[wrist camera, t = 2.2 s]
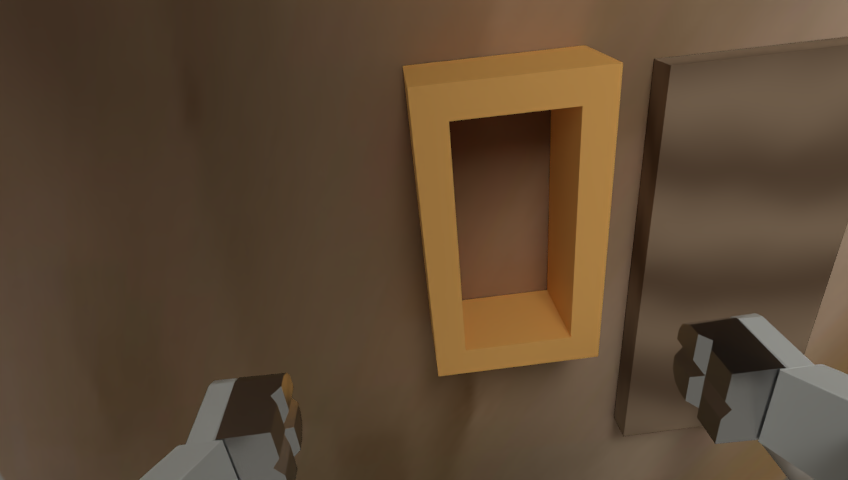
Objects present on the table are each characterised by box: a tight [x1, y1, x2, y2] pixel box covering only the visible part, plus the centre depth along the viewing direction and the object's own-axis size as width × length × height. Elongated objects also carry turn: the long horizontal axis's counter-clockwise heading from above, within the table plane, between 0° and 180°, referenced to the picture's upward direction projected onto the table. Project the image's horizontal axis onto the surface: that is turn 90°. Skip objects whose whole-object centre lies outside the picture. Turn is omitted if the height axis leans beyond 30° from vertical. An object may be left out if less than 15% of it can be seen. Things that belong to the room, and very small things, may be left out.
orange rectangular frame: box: [403, 45, 623, 376], centre depth 24 cm, size 14×8×4 cm, turn 5°
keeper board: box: [614, 37, 848, 480], centre depth 23 cm, size 22×10×12 cm, turn 6°
